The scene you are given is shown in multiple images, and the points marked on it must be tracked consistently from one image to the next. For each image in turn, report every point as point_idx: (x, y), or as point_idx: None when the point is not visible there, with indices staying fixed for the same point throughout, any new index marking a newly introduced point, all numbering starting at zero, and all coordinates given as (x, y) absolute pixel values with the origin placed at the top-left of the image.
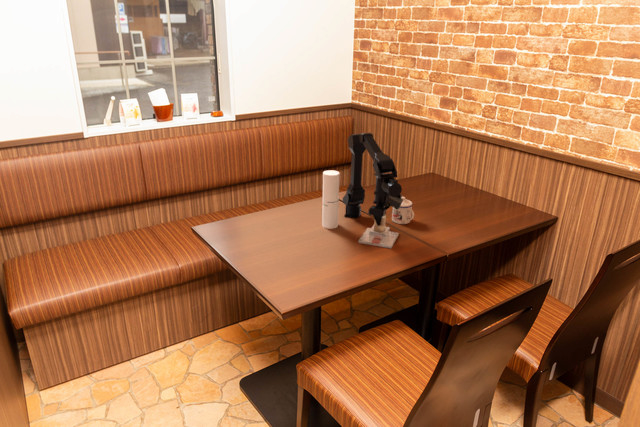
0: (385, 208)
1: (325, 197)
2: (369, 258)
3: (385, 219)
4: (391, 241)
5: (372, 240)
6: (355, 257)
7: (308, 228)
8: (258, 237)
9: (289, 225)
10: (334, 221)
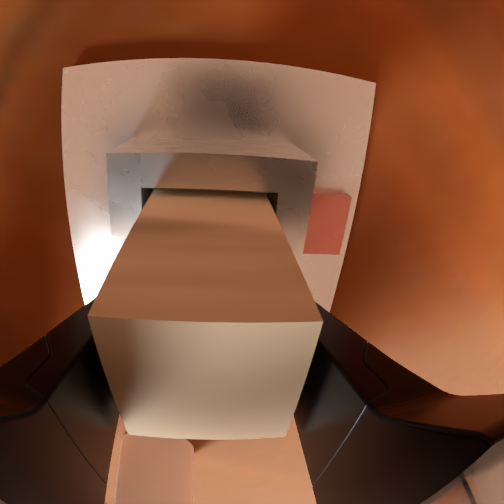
0: (24, 458)
1: None
2: (488, 217)
3: (157, 264)
4: (277, 87)
5: (330, 252)
6: (474, 282)
7: (224, 475)
8: None
9: (225, 495)
10: (175, 465)
